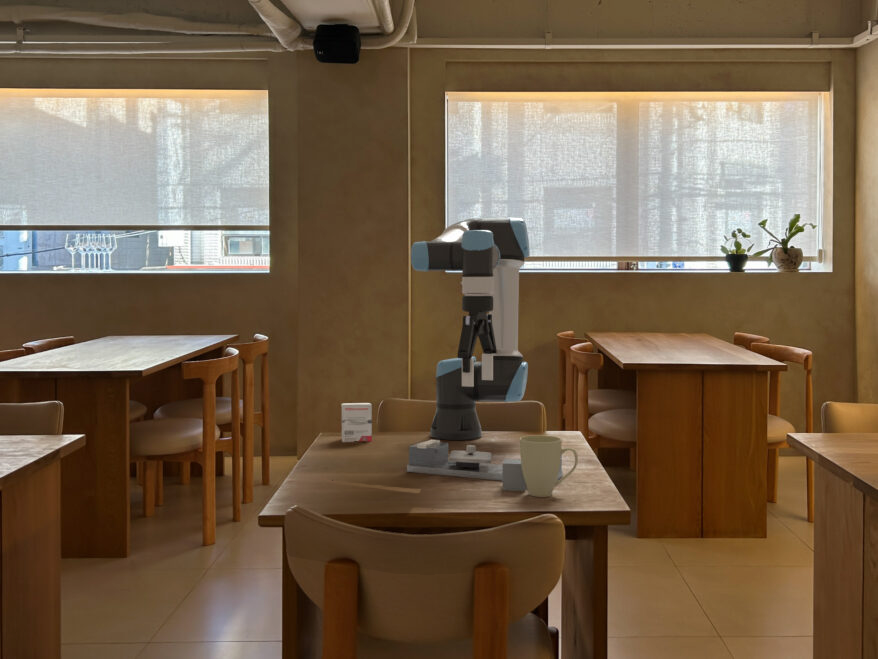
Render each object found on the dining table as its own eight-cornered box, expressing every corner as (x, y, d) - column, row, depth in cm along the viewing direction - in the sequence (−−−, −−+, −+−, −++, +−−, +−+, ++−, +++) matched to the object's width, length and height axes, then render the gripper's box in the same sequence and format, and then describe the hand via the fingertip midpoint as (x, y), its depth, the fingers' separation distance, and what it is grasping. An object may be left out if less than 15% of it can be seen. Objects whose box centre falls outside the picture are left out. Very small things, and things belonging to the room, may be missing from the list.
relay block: (504, 485, 190) (504, 459, 190) (526, 486, 189) (526, 459, 189) (502, 490, 185) (502, 463, 185) (525, 491, 184) (525, 464, 184)
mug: (534, 501, 174) (535, 444, 174) (511, 491, 183) (512, 436, 183) (579, 496, 179) (580, 440, 178) (555, 487, 188) (555, 433, 187)
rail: (424, 464, 214) (424, 438, 213) (562, 476, 199) (562, 448, 199) (407, 471, 204) (407, 444, 204) (550, 485, 190) (550, 456, 189)
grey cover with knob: (490, 471, 197) (491, 449, 197) (448, 468, 197) (449, 446, 197) (490, 465, 206) (491, 444, 206) (450, 462, 207) (452, 441, 207)
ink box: (370, 442, 246) (370, 401, 246) (372, 445, 241) (371, 404, 241) (341, 442, 245) (341, 402, 245) (342, 445, 240) (341, 404, 240)
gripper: (481, 294, 215) (481, 376, 216) (443, 295, 192) (443, 388, 193) (509, 294, 212) (509, 378, 213) (474, 295, 189) (474, 389, 190)
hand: (477, 383), depth 203 cm, fingers open, 13 cm apart
